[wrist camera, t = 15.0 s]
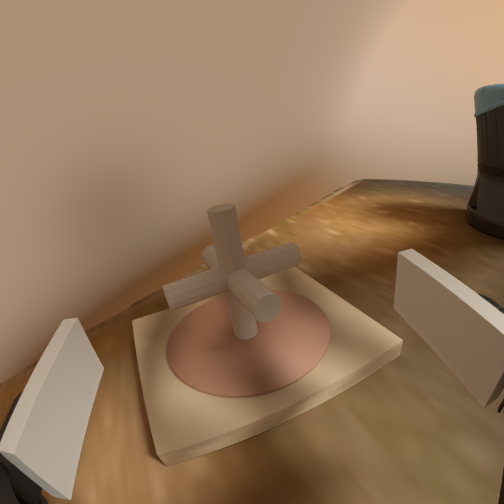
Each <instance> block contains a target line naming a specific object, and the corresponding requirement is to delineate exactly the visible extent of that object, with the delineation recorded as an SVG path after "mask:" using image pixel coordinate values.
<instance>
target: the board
mask: <svg viewBox="0 0 504 504" xmlns="http://www.w3.org/2000/svg"><path fill="white" fill-rule="evenodd" d="M260 281H261V282H262V283H263V284H264V285H266V286H267V287H268V288H269V289H270V290H272V291H273V292H274V293H275V294H277V295H278V296H279V297H280V299H281V301H282V309H281V311H280V313H279V314H278V316H277V317H276V318H274V319H273V320H272V321H269V322H264V323H263V322H261V321H258V320H257V319H256V324H257V329H258V332H257V334H256V335H255V336H254V337H252V338H250V339H246V340H243V339H239V338H237V337H236V336H235V333H234V329H233V325H232V320H231V316H230V312H229V308H228V304H227V299H226V295H225V292H224V293H222V294H219V295H216V296H213V297H210V298H208V299H205V300H202V301H199V302H197V303H194V304H191V305H188V306H185V307H182V308H180V309H177V310H174V311H171V310H170V308H169V309H166V310H163V311H160V312H157V313H153V314H150V315H147V316H144V317H141V318H138V319H135V320H132V324H133V333H134V341H135V348H136V355H137V361H138V368H139V374H140V380H141V385H142V391H143V396H144V401H145V406H146V411H147V415H148V420H149V424H150V429H151V433H152V437H153V441H154V445H155V449H156V453H157V456H158V457H159V458H160V459H161V460H162V462H163V463H164V464H165V465H166V466H169V465H172V464H176V463H179V462H183V461H186V460H189V459H192V458H195V457H199V456H202V455H205V454H208V453H210V452H213V451H216V450H219V449H222V448H224V447H227V446H230V445H232V444H235V443H238V442H240V441H243V440H245V439H248V438H250V437H252V436H255V435H257V434H259V433H262V432H264V431H266V430H269V429H271V428H273V427H275V426H278V425H280V424H282V423H284V422H286V421H288V420H290V419H292V418H294V417H296V416H298V415H300V414H302V413H304V412H306V411H308V410H310V409H312V408H314V407H316V406H318V405H320V404H322V403H323V402H325V401H327V400H329V399H331V398H333V397H334V396H336V395H338V394H340V393H341V392H343V391H345V390H346V389H348V388H350V387H352V386H353V385H355V384H357V383H358V382H360V381H361V380H363V379H365V378H366V377H368V376H369V375H371V374H373V373H374V372H376V371H377V370H379V369H380V368H382V367H383V366H385V365H386V364H388V363H389V362H391V361H392V360H394V359H395V358H397V357H398V356H399V355H400V353H401V348H402V343H403V340H402V339H400V338H399V337H397V336H396V335H395V334H393V333H392V332H390V331H389V330H387V329H386V328H384V327H383V326H381V325H380V324H379V323H377V322H376V321H374V320H373V319H371V318H370V317H368V316H367V315H365V314H364V313H362V312H361V311H360V310H358V309H357V308H355V307H354V306H352V305H351V304H349V303H348V302H346V301H345V300H343V299H342V298H340V297H339V296H338V295H336V294H335V293H333V292H332V291H330V290H329V289H327V288H326V287H324V286H323V285H321V284H320V283H318V282H317V281H315V280H314V279H312V278H311V277H309V276H308V275H306V274H305V273H303V272H302V271H300V270H299V269H298V268H296V267H295V266H294V267H291V268H289V269H286V270H283V271H281V272H278V273H276V274H273V275H270V276H268V277H265V278H262V279H260Z"/></svg>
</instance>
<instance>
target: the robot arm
mask: <svg viewBox="0 0 504 504" xmlns="http://www.w3.org/2000/svg"><path fill="white" fill-rule="evenodd" d="M474 101H475V114H474V117H476V124H477V147H478V174H477V179H476V182H475V185H474V188H473V191H472V194H471V197H470V199H469V202H468V206H467V221H468V222H469V223H470V224H471V225H472V226H474V227H475V228H477V229H479V230H481V231H483V232H486V233H488V234H491V235H494V236H497V237H501V238H504V84H495V85H488V86H484V87H481V88H479V89H478V90H477V91H476V92H475V95H474ZM393 308H394V309H395V310H396V311H397V312H398V313H399V314H400V315H401V316H402V317H403V318H404V319H405V321H406V322H407V323H408V324H409V325H410V326H411V327H412V328H413V329H414V330H415V331H416V332H417V333H418V334H419V335H420V336H421V337H422V339H423V340H424V341H425V342H426V343H427V344H428V345H429V346H430V347H431V348H432V349H433V350H434V352H435V353H436V354H437V355H438V356H439V357H440V358H441V359H442V360H443V362H444V363H445V364H446V365H447V366H448V367H449V368H450V369H451V371H452V372H453V373H454V374H455V375H456V376H457V377H458V379H459V380H460V381H461V382H462V383H463V384H464V386H465V387H466V388H467V389H468V390H469V391H470V393H471V394H472V395H473V396H474V397H475V398H476V400H477V401H478V402H479V403H480V405H481V406H482V407H483V408H485V407H486V406H488V405H489V404H490V403H492V402H493V401H494V400H496V399H497V398H498V397H499V395H500V393H501V391H502V390H503V388H504V308H503V307H500V305H499V304H497V303H496V302H495V301H493V300H492V299H491V298H488V297H486V296H483V295H481V294H477V293H475V292H474V291H473V290H471V289H470V288H469V287H467V286H466V285H465V284H463V283H462V282H460V281H459V280H458V279H456V278H455V277H453V276H452V275H450V274H449V273H448V272H446V271H445V270H443V269H442V268H440V267H439V266H437V265H436V264H435V263H433V262H432V261H430V260H429V259H427V258H426V257H424V256H423V255H421V254H420V253H418V252H416V251H415V250H413V249H408V250H404V251H400V252H398V257H397V273H396V286H395V296H394V306H393ZM103 371H104V367H103V365H102V363H101V362H100V360H99V358H98V356H97V354H96V353H95V351H94V349H93V347H92V345H91V343H90V341H89V339H88V337H87V335H86V333H85V331H84V330H83V327H82V326H81V323H80V321H79V319H78V318H71V319H64V320H63V321H62V323H61V324H60V326H59V327H58V329H57V331H56V333H55V334H54V336H53V337H52V339H51V341H50V343H49V344H48V346H47V348H46V350H45V351H44V353H43V355H42V356H41V358H40V360H39V362H38V364H37V366H36V367H35V369H34V371H33V373H32V375H31V377H30V379H29V381H28V383H27V385H26V387H25V389H24V390H23V391H22V392H21V393H20V394H19V395H18V396H17V397H16V399H15V400H14V402H13V404H12V406H11V408H10V410H9V411H10V413H8V414H7V417H6V421H4V423H3V426H2V428H1V430H0V504H48V502H47V500H46V499H45V498H44V496H42V495H41V492H42V489H44V490H45V491H46V492H48V493H49V494H51V495H52V496H53V497H58V498H62V499H67V500H71V497H72V491H73V486H74V481H75V476H76V471H77V466H78V462H79V457H80V453H81V449H82V444H83V440H84V436H85V432H86V429H87V425H88V421H89V417H90V414H91V410H92V407H93V403H94V400H95V396H96V393H97V390H98V386H99V383H100V380H101V377H102V374H103ZM503 407H504V399H503V401H502V402H501V404H500V406H499V407H498V412H499V413H500V412H501V410H502V408H503ZM503 413H504V412H503ZM498 504H504V469H503V477H502V485H501V491H500V497H499V503H498Z"/></svg>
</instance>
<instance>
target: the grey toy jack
mask: <svg viewBox="0 0 504 504" xmlns="http://www.w3.org/2000/svg"><path fill="white" fill-rule="evenodd" d="M207 213H208V218H209V222H210V227H211V232H212V237H213V241H214V245H210V246H208V247H206V248H205V249H204V251H203V253H202V259H203V261H204V263H205V264H206V265H207V266H208V267H209V268H210V270H207V271H204V272H201V273H198V274H195V275H192V276H189V277H187V278H184V279H181V280H178V281H175V282H172V283H169V284H166V285H163V286H162V288H163V291H164V294H165V297H166V300H167V303H168V306H169V308H170V310H171V311H174V310H177V309H180V308H182V307H185V306H188V305H191V304H194V303H197V302H199V301H202V300H205V299H208V298H210V297H213V296H216V295H219V294H222V293H224V292H225V295H226V299H227V304H228V308H229V312H230V316H231V320H232V325H233V329H234V333H235V336H236V337H237V338H239V339H243V340H246V339H250V338H252V337H254V336H255V335H256V334H257V332H258V329H257V324H256V319H257V320H258V321H261V322H263V323H264V322H269V321H272V320H273V319H274V318H276V317H277V316H278V314H279V313H280V311H281V309H282V301H281V299H280V297H279V296H278V295H277V294H275V293H274V292H273V291H272V290H270V289H269V288H268V287H267V286H266V285H264V284H263V283H262V282H261V281H260V279H262V278H265V277H268V276H270V275H273V274H276V273H278V272H281V271H283V270H286V269H289V268H291V267H294V266H297V265H298V264H299V263H300V259H301V257H300V253H299V250H298V248H297V246H296V245H295V244H294V243H287V244H284V245H281V246H278V247H275V248H272V249H269V250H266V251H263V252H260V253H257V254H254V255H251V256H249V257H246V258H244V253H243V248H242V242H241V237H240V231H239V226H238V221H237V215H236V209H235V205H234V204H222V205H217V206H214V207H211V208H209V209H208V210H207Z"/></svg>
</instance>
